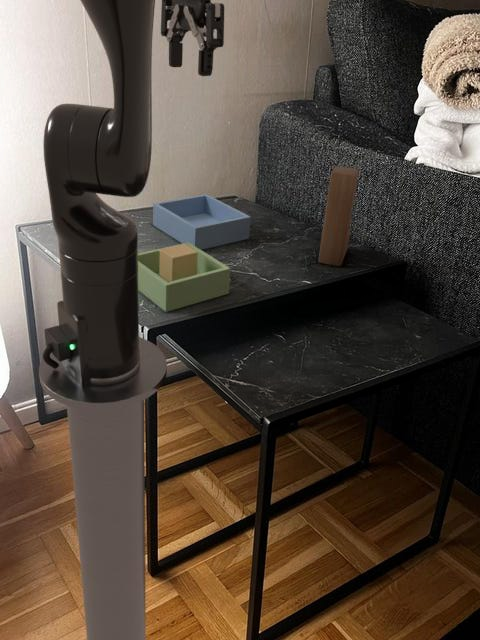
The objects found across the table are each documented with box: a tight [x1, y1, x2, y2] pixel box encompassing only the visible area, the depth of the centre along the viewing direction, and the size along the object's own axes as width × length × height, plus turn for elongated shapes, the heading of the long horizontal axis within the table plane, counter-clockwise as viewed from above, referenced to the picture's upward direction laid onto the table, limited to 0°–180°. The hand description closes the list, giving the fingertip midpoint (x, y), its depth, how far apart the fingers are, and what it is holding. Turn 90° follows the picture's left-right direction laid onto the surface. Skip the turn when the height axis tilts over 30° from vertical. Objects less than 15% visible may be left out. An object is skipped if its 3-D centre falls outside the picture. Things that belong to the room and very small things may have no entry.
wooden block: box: [318, 165, 360, 267], centre depth 117 cm, size 9×4×18 cm, turn 163°
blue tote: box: [152, 193, 252, 251], centre depth 126 cm, size 14×16×5 cm
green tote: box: [138, 242, 231, 313], centre depth 104 cm, size 13×13×5 cm
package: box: [159, 243, 198, 282], centre depth 103 cm, size 5×4×6 cm
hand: (189, 71), depth 100 cm, fingers open, 8 cm apart
